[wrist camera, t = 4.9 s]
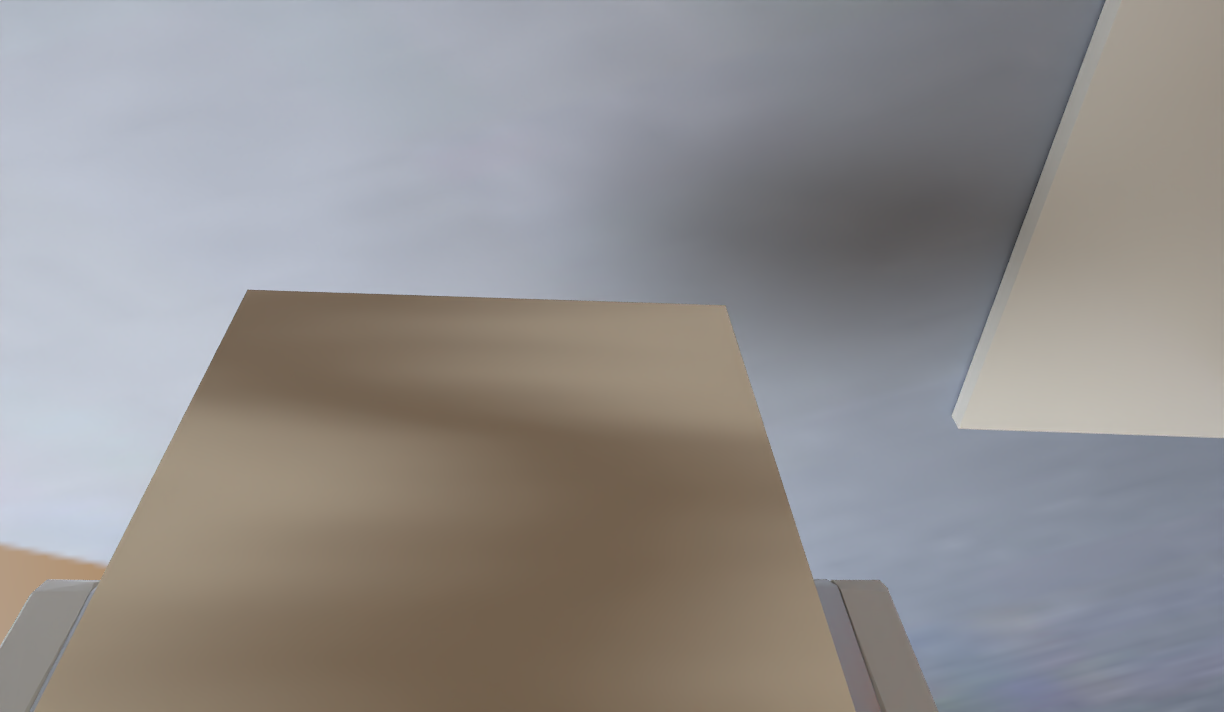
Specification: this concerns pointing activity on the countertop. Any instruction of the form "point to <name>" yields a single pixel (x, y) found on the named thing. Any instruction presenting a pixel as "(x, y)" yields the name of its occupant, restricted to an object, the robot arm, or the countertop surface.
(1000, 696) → the countertop surface
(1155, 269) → the board
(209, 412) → the birch cube
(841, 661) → the robot arm
